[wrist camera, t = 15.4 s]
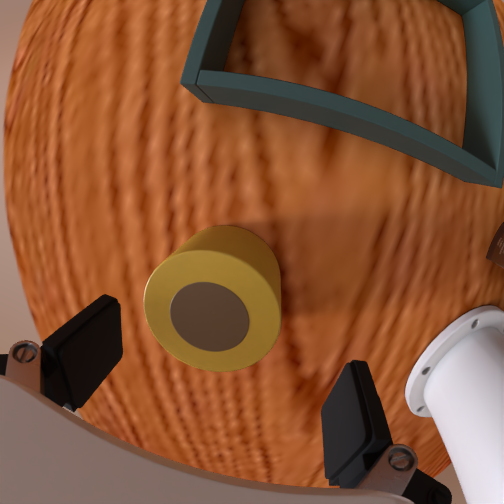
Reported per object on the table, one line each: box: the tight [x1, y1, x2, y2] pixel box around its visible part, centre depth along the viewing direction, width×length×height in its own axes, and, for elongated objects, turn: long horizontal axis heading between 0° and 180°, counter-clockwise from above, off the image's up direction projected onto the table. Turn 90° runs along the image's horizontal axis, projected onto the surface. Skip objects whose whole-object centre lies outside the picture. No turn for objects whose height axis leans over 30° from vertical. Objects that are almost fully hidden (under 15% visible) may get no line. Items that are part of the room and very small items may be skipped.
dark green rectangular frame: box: [180, 0, 504, 188], centre depth 9 cm, size 18×16×4 cm
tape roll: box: [144, 225, 282, 372], centre depth 14 cm, size 7×7×5 cm
